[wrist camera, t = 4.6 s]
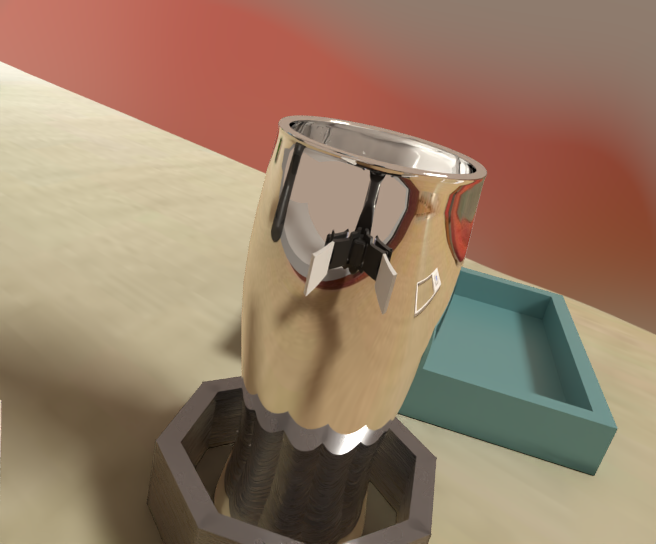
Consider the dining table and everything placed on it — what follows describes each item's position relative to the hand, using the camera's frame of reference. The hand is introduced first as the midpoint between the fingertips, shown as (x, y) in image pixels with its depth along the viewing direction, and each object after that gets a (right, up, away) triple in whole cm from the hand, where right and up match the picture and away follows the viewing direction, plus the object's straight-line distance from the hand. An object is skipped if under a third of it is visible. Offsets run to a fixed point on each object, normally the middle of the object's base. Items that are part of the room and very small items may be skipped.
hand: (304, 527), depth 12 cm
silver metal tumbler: (-1, -4, +12) cm, 13 cm away
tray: (+7, 0, +28) cm, 29 cm away
